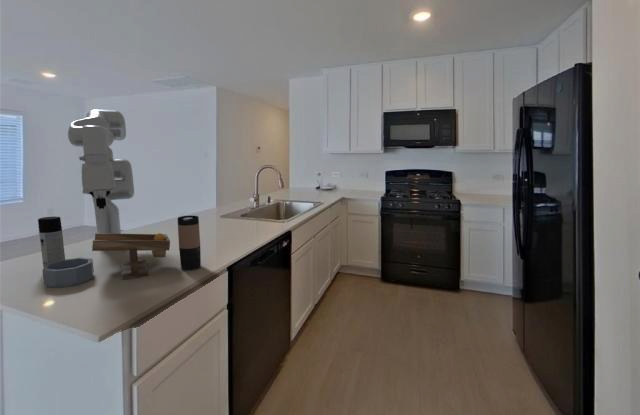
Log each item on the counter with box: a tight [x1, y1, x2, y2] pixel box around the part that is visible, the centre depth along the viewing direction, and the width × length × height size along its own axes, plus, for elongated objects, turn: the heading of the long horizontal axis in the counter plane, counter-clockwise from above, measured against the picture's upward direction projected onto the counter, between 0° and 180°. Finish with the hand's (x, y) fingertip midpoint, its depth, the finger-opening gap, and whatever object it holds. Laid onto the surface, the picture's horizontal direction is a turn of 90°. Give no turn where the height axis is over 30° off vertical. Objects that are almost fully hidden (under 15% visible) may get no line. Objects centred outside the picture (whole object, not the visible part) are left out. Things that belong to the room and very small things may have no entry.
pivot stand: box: [121, 248, 149, 281], centre depth 122 cm, size 18×8×10 cm, turn 31°
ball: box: [154, 232, 165, 240], centre depth 126 cm, size 4×4×4 cm
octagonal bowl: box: [42, 257, 95, 289], centre depth 112 cm, size 13×13×6 cm
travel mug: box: [177, 215, 202, 271], centre depth 125 cm, size 8×8×20 cm
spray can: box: [37, 216, 66, 268], centre depth 122 cm, size 7×7×20 cm
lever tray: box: [91, 232, 171, 259], centre depth 125 cm, size 20×24×7 cm
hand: (101, 208), depth 124 cm, fingers closed
